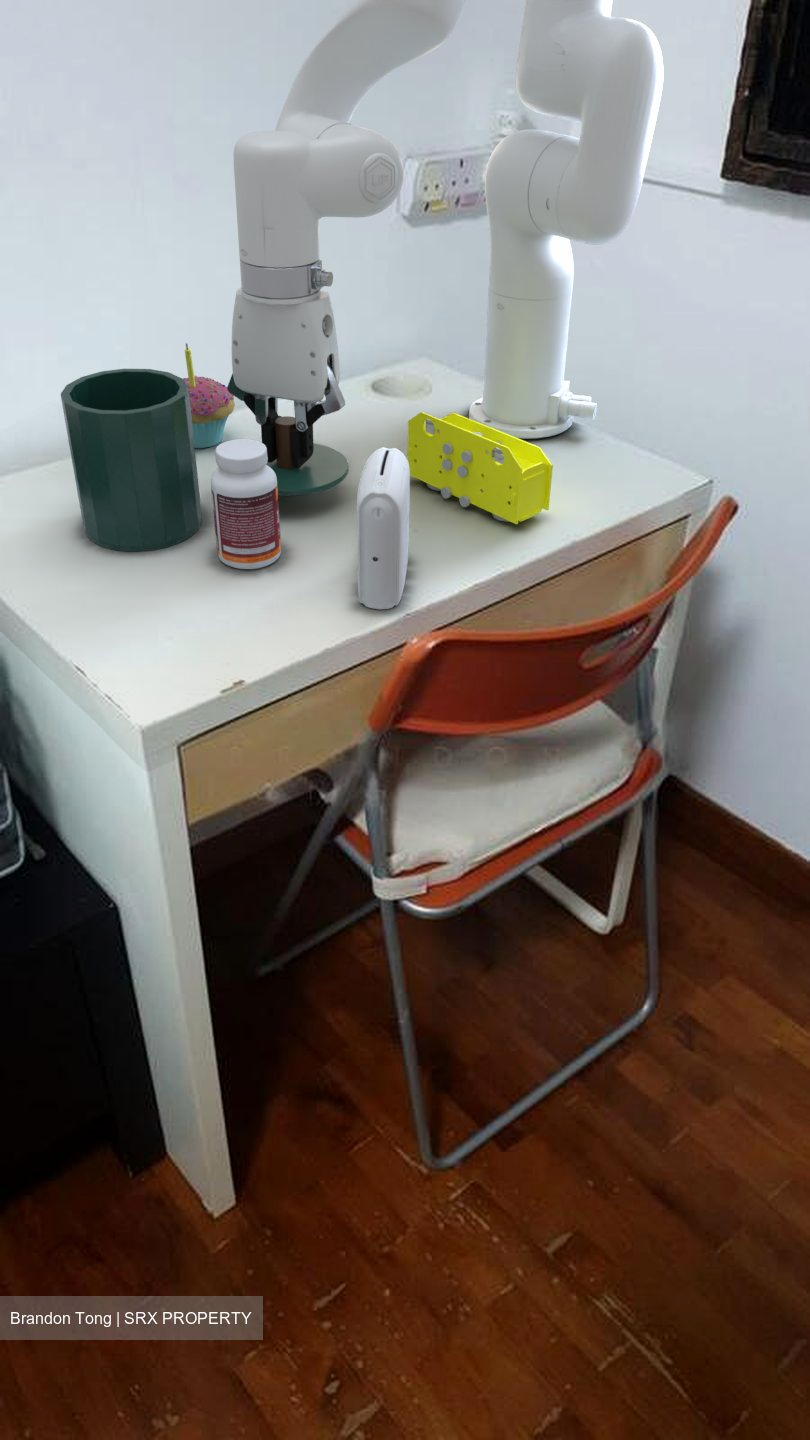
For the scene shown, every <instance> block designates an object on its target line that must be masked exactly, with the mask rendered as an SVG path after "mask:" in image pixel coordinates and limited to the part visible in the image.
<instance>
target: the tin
mask: <svg viewBox="0 0 810 1440" xmlns="http://www.w3.org/2000/svg"><path fill="white" fill-rule="evenodd" d="M60 400H61V406H62V409H63V410H62V411H63V417H64V421H65V422H64V423H65V429H66V434H67V440H68V445H69V451H70V457H71V461H72V462H71V463H72V468H73V469H72V470H73V474H74V480H75V485H76V492H77V498H78V503H79V508H80V514H81V520H82V525H83V527H84V533H85V535H86V537H87V538H88V539H89V540H90V541H91V542H92V543H93V544H95V545H98V546H100V547H102V548H104V549H109V550H113V551H119V552H148V551H155V550H156V551H157V550H161V549H165V548H170V547H173V546H175V545H177V544H180V543H182V542H184V541H186V540H188V539H189V538H191V537H192V536H193V535H195V534H196V533H197V532H198V530H199V529H200V527H201V525H202V516H203V515H202V513H203V512H202V505H201V504H202V503H201V495H200V485H199V476H198V467H197V457H196V448H195V446H194V436H193V427H192V417H191V408H190V398H189V388H188V386H187V384H186V383H185V381H184V380H183V377H180V376H178V375H176V374H174V373H171V372H168V371H163V370H159V369H152V368H118V369H110V370H102V371H98V372H94V373H90V374H87V375H83V376H81V377H79V378H77V379H75V380H73V381H72V382H70V383H67V384H66V385H65V386H64V388H63V389H62V391H61V392H60Z"/></svg>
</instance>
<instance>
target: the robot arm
mask: <svg viewBox="0 0 810 1440" xmlns="http://www.w3.org/2000/svg"><path fill="white" fill-rule="evenodd" d="M465 2H466V0H355V1H354V2H353V3H352V4H351V5H350V6H349V7H348V8H347V9H346V10H345V11H344V12H343V13H342V15H341V16H340V17H338V19H337V20H336V21H335V22H334V24H332V26H330V28H329V29H328V30H327V32H326V33H325V34H324V35H322V37H321V38H320V39H319V40H318V42H317V43H316V44H315V45H314V46H313V48H312V49H311V51H310V52H309V53H308V55H307V56H306V58H305V59H304V60H303V62H302V64H301V66H300V67H299V69H298V71H297V73H296V75H295V77H294V79H293V82H292V84H291V87H290V89H289V91H288V94H287V96H286V99H285V101H284V104H283V106H282V109H281V112H280V115H279V117H278V120H277V122H276V126H275V129H274V130H263V131H254V132H249V133H246V134H244V135H242V136H240V137H239V138H238V139H237V141H236V142H235V145H234V148H233V174H234V190H235V204H236V205H235V207H236V224H237V241H238V255H239V269H240V284H241V286H240V287H239V288H238V289H237V290H236V293H235V298H234V303H233V304H234V305H233V313H232V325H231V368H232V373H231V376H230V379H229V381H228V384H227V386H226V387H227V390H228V392H229V393H230V394H232V395H233V397H235V398H237V399H238V400H240V401H241V402H242V401H243V402H244V404H245V405H246V406H247V408H248V409H249V410H250V411H251V413H252V414H253V415H254V416H255V417H254V418H255V421H256V423H257V424H258V425H260V433H261V443H263V444H264V445H265V446H266V448H267V457H268V461H267V462H270V463H272V462H273V461H275V460H276V459H277V455H276V434H275V420H276V419H277V418H279V417H283V416H282V415H279V413H278V412H279V411H278V410H279V409H278V406H279V405H278V403H279V401H278V399H281V400H287V401H293V410H294V417H295V422H296V423H295V426H296V428H295V429H294V430H292V432H291V443H292V465H294V467H298V468H300V467H301V466H302V465H303V464H304V463H305V462H306V461H308V460H309V459H310V457H311V456H312V454H313V451H314V446H313V443H314V424H315V423H316V422H317V421H318V420H319V419H320V418H321V417H323V416H327V415H329V414H333V413H336V412H339V411H340V410H341V409H343V407H345V405H346V400H345V397H344V395H343V392H342V391H341V388H340V386H339V385H340V379H341V377H340V376H341V372H340V371H341V370H340V356H339V355H340V354H339V345H338V335H337V328H336V327H337V326H336V320H335V316H334V310H333V306H332V302H331V298H330V294H329V292H328V291H324V290H321V289H322V288H324V287H332V285H333V282H334V274H333V272H332V271H328V270H326V269H325V268H323V260H322V259H321V258H320V257H321V256H320V255H321V253H320V220H321V218H356V219H358V218H367V217H371V216H375V215H378V214H380V213H382V212H383V211H385V210H386V209H388V208H389V207H390V206H391V205H393V203H394V202H395V201H396V200H397V198H398V197H399V195H400V192H401V190H402V187H403V184H404V177H405V168H404V163H403V162H404V161H403V158H402V156H401V154H400V152H399V150H398V148H397V146H396V145H395V144H394V143H393V142H392V141H391V140H390V139H389V138H388V137H387V136H385V135H383V134H381V132H380V133H379V132H378V131H376V130H373V129H370V128H367V127H363V126H360V125H355V124H352V123H350V121H351V120H352V117H353V115H354V113H355V111H356V110H357V108H358V107H359V105H360V103H361V102H362V100H363V99H364V97H365V96H366V95H367V93H368V92H369V91H370V90H371V89H372V88H373V87H374V86H375V85H376V84H378V82H379V81H380V80H382V79H383V78H384V77H386V76H388V75H389V74H390V73H392V72H393V71H395V70H397V69H398V68H401V67H403V66H405V65H407V64H409V63H411V62H413V61H415V60H417V59H419V58H422V57H423V56H425V55H427V54H429V53H431V52H433V51H434V50H436V49H438V47H440V46H443V44H445V42H447V40H449V38H450V36H451V35H452V34H453V31H454V29H455V27H456V25H457V21H458V20H459V17H460V14H461V12H462V9H463V8H464V5H465ZM612 5H613V0H525V6H524V13H523V20H522V26H521V32H520V39H519V44H518V52H517V59H516V67H515V88H516V89H515V90H516V93H517V96H518V99H519V100H520V102H521V103H522V105H524V106H525V107H526V108H527V109H529V110H531V111H533V112H534V113H537V114H540V115H543V116H546V117H551V118H555V119H559V120H563V121H568V122H569V121H570V122H574V123H579V124H581V126H580V135H579V136H580V137H576V136H574V135H568V134H565V133H559V132H555V131H551V130H544V129H536V128H532V129H531V128H530V129H522V130H517V131H514V132H512V133H511V134H508V135H507V136H505V137H504V138H503V139H501V140H500V141H499V143H497V145H496V146H495V148H494V149H493V151H492V152H491V154H490V155H489V159H488V161H487V164H486V168H485V174H484V197H485V206H486V213H487V220H488V229H489V271H488V272H489V275H488V287H487V288H488V291H487V308H486V309H487V311H486V325H485V327H486V328H485V329H486V331H485V344H484V346H485V347H484V365H483V367H484V368H483V383H482V396H481V397H480V398H477V399H476V400H475V401H473V402H472V403H471V404H470V405H469V410H468V418H469V419H471V420H474V421H476V422H479V423H481V424H484V425H486V426H488V427H491V428H493V429H496V430H498V431H501V432H503V433H506V434H508V435H511V436H513V437H516V438H518V439H521V440H525V439H526V440H529V439H531V440H532V439H543V438H549V437H553V436H556V435H559V434H561V433H563V432H566V431H567V430H568V429H569V428H570V427H571V426H572V424H573V422H574V417H577V418H580V419H584V420H586V419H587V420H593V421H594V420H595V419H596V416H597V412H598V402H592V400H593V399H592V396H587V395H577V394H574V392H572V391H570V386H571V381H570V380H565V374H566V373H565V372H566V361H567V352H568V351H567V350H568V339H569V330H570V329H569V328H570V320H571V319H570V318H571V311H572V299H573V290H574V289H573V288H574V279H575V265H574V256H573V250H572V246H571V245H572V244H571V241H573V242H576V243H580V244H585V245H589V246H590V245H591V246H600V245H605V244H609V243H610V242H613V241H615V240H616V239H617V238H618V237H619V236H620V235H621V234H622V233H624V231H625V229H626V228H627V226H628V225H629V223H630V221H631V220H632V218H633V215H634V213H635V210H636V208H637V204H638V201H639V198H640V194H641V191H642V186H643V182H644V176H645V173H646V167H647V164H648V159H649V153H650V149H651V144H652V141H653V135H654V132H655V128H656V127H655V126H656V122H657V117H658V113H659V108H660V103H661V97H662V92H663V84H664V63H663V61H664V60H663V55H662V50H661V46H660V44H659V42H658V39H657V37H656V36H655V34H654V33H653V31H652V30H651V29H650V28H649V27H647V26H646V25H645V24H643V23H642V22H640V21H637V20H634V19H631V18H627V17H619V16H611V15H612V14H611V13H612ZM324 398H325V399H324ZM323 399H324V400H323Z"/></svg>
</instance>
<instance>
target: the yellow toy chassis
mask: <svg viewBox="0 0 810 1440" xmlns="http://www.w3.org/2000/svg"><path fill="white" fill-rule="evenodd" d="M407 461H408V463H409V467H410V477H413V478H414V479H417V480H419V481H422V482H423V483H426V486H427V487H428V488H429V489H430V490H433V491H437V492H440V494H441V496H442V497H443V498H444V499H449V498H451V497H452V496H454V497H456V498H458V499H459V504H460V506H461V507H463V508H467V507H469V506H470V504H471V505H474V506H475V507H478V508H480V509H481V510H484V511H486V512H488V513H491V514H492V517H493V518H494V519H495V520H497V521H500V522H505V523H512V524H515V525H518V524H519V522H520V523H522V522H524V521H526V520H528V519H531V518H532V517H535V516H537V515H539V514H540V513H541V512H542V510H543V509H544V510H545V511H549V510H550V509H549V508H550V501H551V489H552V479H553V468H554V465H553V463H552V462H551V460H550V459H549V457H548V456H547V454H546V453H545V452H544V451H543V449H542V447H540V446H538V445H536V444H533V443H531V442H528V441H526V440H524V439H520V438H516V437H513V436H511V435H508V434H506V433H503V432H501V431H498V430H496V429H493V428H491V427H488V426H486V425H484V424H481V423H479V422H476V421H474V420H471V419H469V417H466V416H464V415H461V414H458V413H456V412H451V413H449V414H447V415H446V416H443V417H442V418H438V417H435V416H433V415H431V414H428V413H426V412H423V411H421V412H419V413H417V414H416V415H415V416H414V417H412V418H410V419H409V420H408V421H407Z"/></svg>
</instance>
